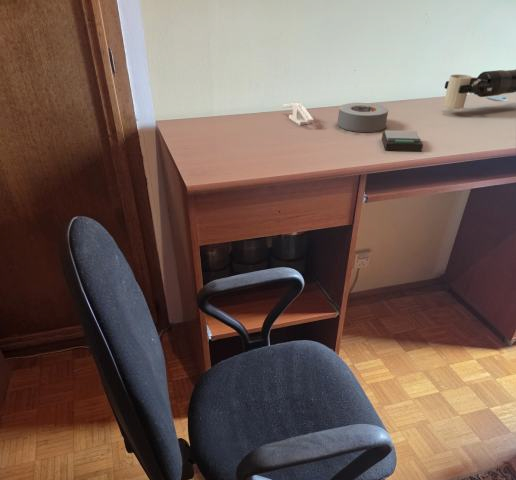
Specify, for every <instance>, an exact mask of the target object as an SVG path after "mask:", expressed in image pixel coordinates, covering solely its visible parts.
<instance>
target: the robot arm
mask: <svg viewBox="0 0 516 480" xmlns="http://www.w3.org/2000/svg"><path fill="white" fill-rule="evenodd" d="M471 77H472V76H471ZM448 83H449V80H447V81H446V82H445V84H444V89H445V90H447V87H448ZM459 93H460V94H461V93H467V94H471V95H472V94H473V95H476V96H477V97H479V98H485V97H486V98H487V97H494V96H500V95H507V94H514V93H516V68H515V69H509V70H508V69H506V70H505V69H499V70H486V71H482V72H481V73H480V74H478V76H477V77H475V76H473V77H472V78H471V82H470V85H461V86H460V88H459Z"/></svg>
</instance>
